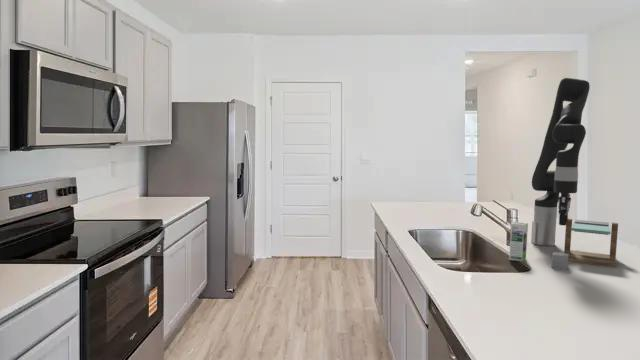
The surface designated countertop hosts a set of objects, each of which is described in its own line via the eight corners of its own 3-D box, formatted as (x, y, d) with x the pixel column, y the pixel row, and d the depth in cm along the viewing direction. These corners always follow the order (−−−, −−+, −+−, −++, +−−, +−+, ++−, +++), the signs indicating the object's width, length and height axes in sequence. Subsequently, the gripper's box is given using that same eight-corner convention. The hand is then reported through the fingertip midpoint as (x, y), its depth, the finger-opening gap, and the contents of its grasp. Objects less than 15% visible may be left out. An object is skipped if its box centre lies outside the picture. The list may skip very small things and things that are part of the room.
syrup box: (508, 260, 183) (510, 223, 182) (510, 257, 189) (512, 221, 187) (524, 262, 181) (527, 224, 179) (526, 258, 186) (528, 222, 185)
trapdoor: (573, 228, 200) (574, 219, 200) (609, 232, 194) (610, 222, 193) (570, 236, 183) (571, 226, 183) (609, 241, 176) (610, 230, 176)
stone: (551, 267, 173) (552, 254, 173) (552, 265, 178) (553, 251, 177) (566, 270, 171) (567, 256, 170) (567, 267, 175) (568, 253, 175)
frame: (565, 251, 201) (567, 217, 199) (615, 257, 191) (617, 221, 190) (561, 260, 184) (564, 223, 183) (616, 267, 175) (618, 229, 174)
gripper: (576, 181, 164) (573, 227, 165) (578, 178, 176) (575, 222, 177) (552, 179, 167) (550, 225, 169) (556, 177, 180) (553, 220, 181)
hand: (563, 223), depth 173 cm, fingers open, 8 cm apart
